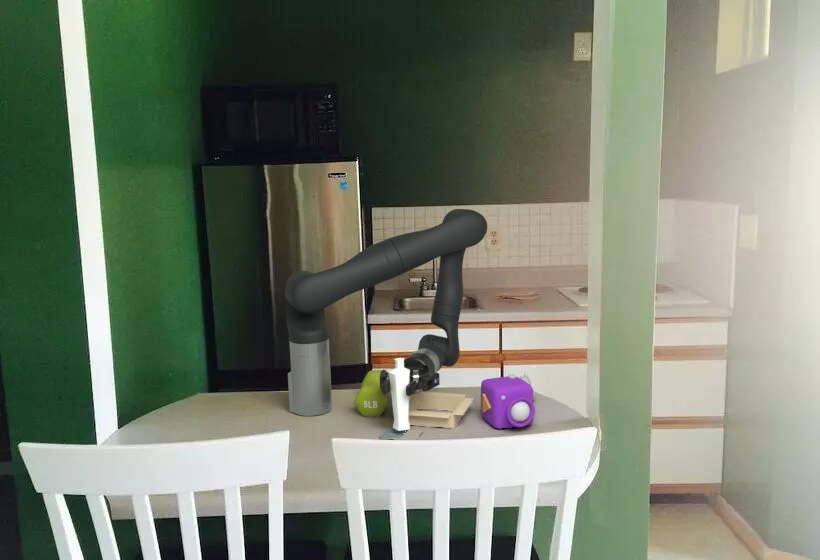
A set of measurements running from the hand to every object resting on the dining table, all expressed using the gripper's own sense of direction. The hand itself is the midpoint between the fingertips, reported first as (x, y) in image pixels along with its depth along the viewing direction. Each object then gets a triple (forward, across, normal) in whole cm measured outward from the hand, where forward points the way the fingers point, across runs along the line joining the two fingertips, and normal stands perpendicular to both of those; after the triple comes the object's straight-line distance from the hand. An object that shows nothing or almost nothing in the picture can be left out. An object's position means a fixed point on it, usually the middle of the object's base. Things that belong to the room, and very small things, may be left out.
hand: (396, 390), depth 147 cm
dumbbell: (-19, -12, +11) cm, 26 cm away
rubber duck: (-29, +22, +11) cm, 38 cm away
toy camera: (-14, +21, +11) cm, 28 cm away
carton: (-14, +4, +11) cm, 18 cm away
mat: (-2, 0, +11) cm, 11 cm away
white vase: (-3, 0, +9) cm, 10 cm away
